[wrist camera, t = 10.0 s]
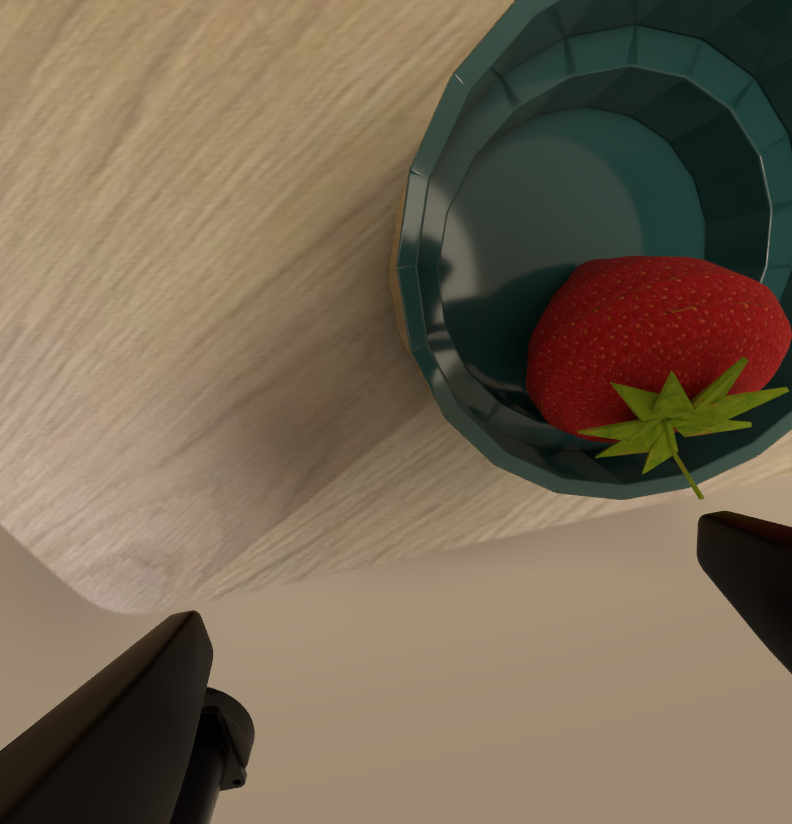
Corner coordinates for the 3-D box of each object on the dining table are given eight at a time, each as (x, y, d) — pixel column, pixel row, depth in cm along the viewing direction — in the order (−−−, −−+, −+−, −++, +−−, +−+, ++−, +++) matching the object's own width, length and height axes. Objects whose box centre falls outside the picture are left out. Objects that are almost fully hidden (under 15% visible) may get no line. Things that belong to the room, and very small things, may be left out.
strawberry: (678, 297, 18) (846, 503, 12) (508, 347, 20) (571, 547, 14) (703, 159, 14) (991, 364, 7) (483, 240, 16) (558, 458, 9)
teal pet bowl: (719, 404, 20) (874, 454, 14) (419, 459, 20) (440, 534, 14) (743, 33, 16) (985, -135, 10) (358, 103, 16) (348, -20, 9)
